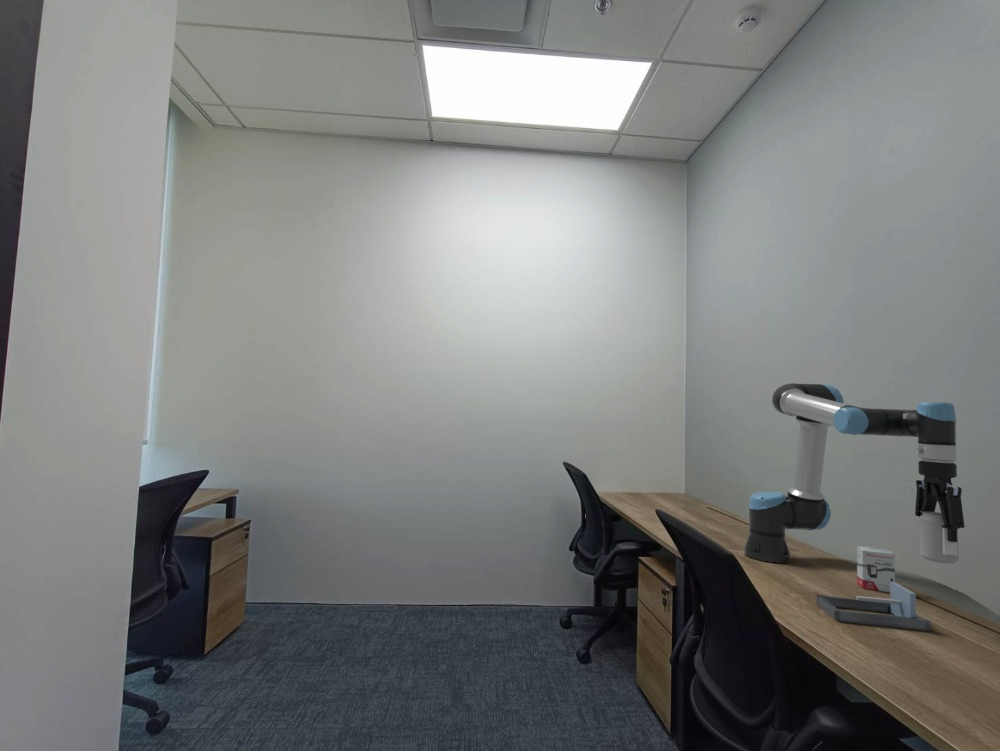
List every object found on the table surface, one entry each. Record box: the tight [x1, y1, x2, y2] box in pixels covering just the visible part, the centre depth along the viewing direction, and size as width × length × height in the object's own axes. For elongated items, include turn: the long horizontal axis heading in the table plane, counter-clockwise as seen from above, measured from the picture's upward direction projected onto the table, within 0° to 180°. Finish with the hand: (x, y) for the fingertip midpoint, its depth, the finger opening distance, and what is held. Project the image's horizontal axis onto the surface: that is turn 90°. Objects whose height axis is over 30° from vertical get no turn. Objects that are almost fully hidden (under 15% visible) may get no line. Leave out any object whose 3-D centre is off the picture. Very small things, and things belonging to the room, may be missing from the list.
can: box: [918, 511, 960, 565], centre depth 129 cm, size 8×8×12 cm
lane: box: [816, 594, 932, 632], centre depth 130 cm, size 12×21×2 cm, turn 79°
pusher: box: [855, 581, 917, 618], centre depth 130 cm, size 9×11×8 cm
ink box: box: [856, 545, 896, 593], centre depth 154 cm, size 9×5×12 cm, turn 69°
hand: (939, 549), depth 129 cm, fingers closed on can, 7 cm apart
